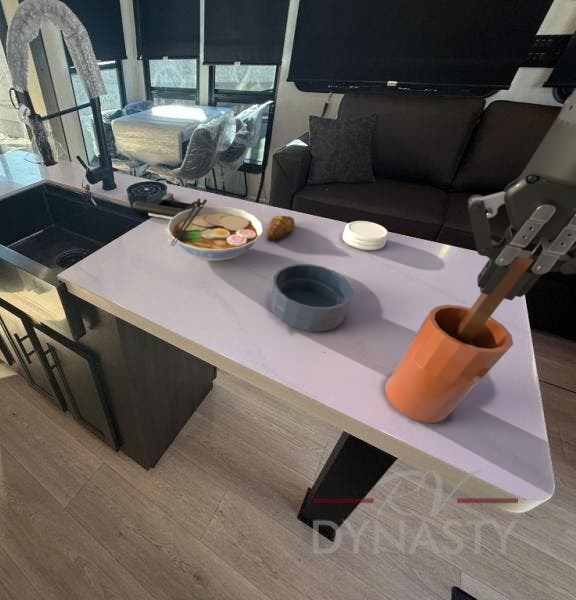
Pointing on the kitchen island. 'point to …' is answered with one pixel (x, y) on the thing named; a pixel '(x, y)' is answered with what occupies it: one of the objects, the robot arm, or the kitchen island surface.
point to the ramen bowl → (214, 231)
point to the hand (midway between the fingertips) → (495, 292)
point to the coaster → (365, 235)
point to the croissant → (279, 227)
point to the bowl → (310, 297)
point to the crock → (444, 365)
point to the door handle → (163, 207)
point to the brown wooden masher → (491, 299)
